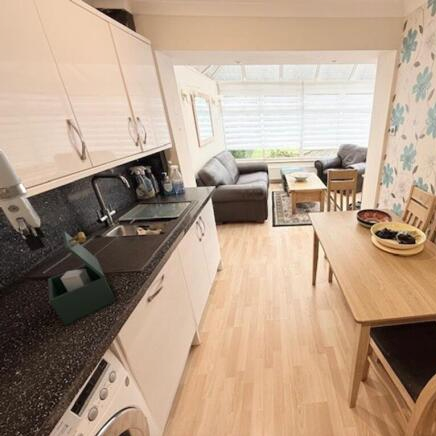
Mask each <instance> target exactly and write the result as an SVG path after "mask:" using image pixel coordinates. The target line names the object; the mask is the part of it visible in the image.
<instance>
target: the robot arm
mask: <svg viewBox="0 0 436 436" xmlns="http://www.w3.org/2000/svg"><path fill="white" fill-rule="evenodd" d="M28 194H29V192H28V190H27V189H26V187H25V186H24V184H23V182H22V180H21V178H20V176H19V175H18V173H17V172H16V170H15V168H14V166H13V164H12V162H11V160H10V159H9V158H8V156H7V154H6V152H5V151H4V150H3V149H2V148H0V208H1V210H2V211H3V213H4V215H5V216H6V218H7V219H8V221H9V222H10V224H11V226H12V227H13V228H14V229H15V231H16V232H18V233H20V234H21V235H22V238H23V240H24V242H25V244H26V245H27V247H28V249H29V250H30V251H31V252H34V251H37V250H40V249H43V248H46V244H45V243H44V241H43V239H42V238H45V234H44V232H43V230H42V229H41V218H40V216H39V215H38V213H37V212H36V211H35V209H34V207H33V205H32V204H31V202H30V200H28V198H27V197H26V196H27V195H28Z"/></svg>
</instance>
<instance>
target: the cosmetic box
mask: <svg viewBox="0 0 436 436" xmlns="http://www.w3.org/2000/svg"><path fill="white" fill-rule="evenodd" d="M72 270H73V269H72ZM65 272H66V273H65ZM65 272H64V273H65V274H64V275H63V276H62V277H61V280H62V282H63V284H64V285H65V287H66V289H67V291H68V292H69V291H72V290H74V289H77V288H79V287H81V286H84V285H86V284H88V283H91V280H90V278H89V276H88V274H87V272H86V269H80V270H73V271H70V270H67V271H65Z"/></svg>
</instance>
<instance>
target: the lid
mask: <svg viewBox="0 0 436 436" xmlns="http://www.w3.org/2000/svg"><path fill="white" fill-rule="evenodd" d="M61 235H62V238H63V243H64V247H65V250H67V251H68V252H69V253H70V254H72V255H73V256H74V257H75V258H76V259H78V260H79V261H80V262H81V263H82V264H83V265H87V266H88V267H89V268H91V269H92V270H93V271H94V272H96V273H97V274H98V275H99V276H101V277H102V278H103V277H104V276H105V273H104V271H103V269H102V267H101V265H100V263H99V260H98V258H97V257H96V256H95V255H93V254H92V253H91V252H90V251H88V250H87V249H86V248H85V247H84V246H82V245H81V244H80V243H84V242H86V241H87V236H86V235H85V233H84V232H83V231H79V232H78V233H77V235H75V236H74V237H72V236H71V235H70V234H68V233H67V232H66V231H62V232H61Z"/></svg>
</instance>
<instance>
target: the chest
mask: <svg viewBox="0 0 436 436" xmlns="http://www.w3.org/2000/svg"><path fill="white" fill-rule="evenodd" d="M80 269H86V272H87V274H88V276H89V278H90V280H91V283H88V284H86V285H84V286H81V287H79V288H77V289H74V290H72V291H69V292H68V291H67V289H66V287H65V285H64V284H63V282H62V280H61V277H62V276H63V275H64V274H65V273H66V272H67V271H65V272H61V273H59V274H57V275H54V276H52V277H49V278H47V287H48V301H49V303H50V305H51V306H52V308H53V309H54V310H55V312H56V313H57V315H58V317H59V318H60V319H61V321H62V323H63V324H64V325H65V326H67V325H68V324H71V323H72V322H75V321H77V320H78V319H81V318H83V317H86V316H87V315H89V314H91V313H93V312H95V311H97V310H99V309H102V308H104V307H106V306H108V305H110V304H112V303H114V302H116V299H115V296H114V293H113V290H112V288H111V287H110V284H109V282H108V280H107V278H106V276H105V275H104V277H103V278H102V277H101V276H99V275H98V274H97V273H96V272H94V271H93V270H92V269H91V268H89V267H88V266H87V265H85V264H83V265H81V266H78V267H75V268H72V269H69V271H73V270H80Z"/></svg>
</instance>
